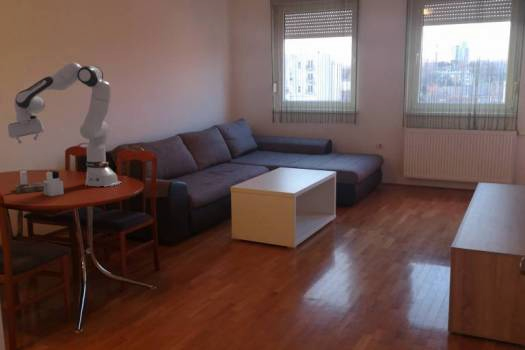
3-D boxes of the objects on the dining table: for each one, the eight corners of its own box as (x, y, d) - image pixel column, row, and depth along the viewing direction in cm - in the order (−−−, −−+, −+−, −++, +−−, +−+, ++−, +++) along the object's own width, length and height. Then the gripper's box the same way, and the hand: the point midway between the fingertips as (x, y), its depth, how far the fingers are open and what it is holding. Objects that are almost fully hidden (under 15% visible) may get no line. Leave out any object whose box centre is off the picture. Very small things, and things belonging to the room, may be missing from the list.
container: (56, 192, 305) (55, 170, 303) (63, 194, 300) (62, 171, 298) (43, 194, 299) (42, 171, 297) (51, 196, 294) (49, 173, 292)
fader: (27, 184, 310) (26, 170, 309) (28, 185, 306) (28, 172, 305) (19, 185, 308) (18, 171, 306) (21, 186, 304) (20, 172, 302)
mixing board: (50, 186, 321) (50, 181, 321) (55, 189, 312) (55, 184, 312) (15, 190, 310) (14, 184, 309) (19, 193, 301) (18, 187, 300)
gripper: (5, 122, 320) (8, 143, 317) (39, 115, 322) (43, 136, 319) (9, 125, 326) (12, 146, 323) (43, 119, 328) (46, 139, 325)
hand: (27, 141), depth 321 cm, fingers open, 8 cm apart
